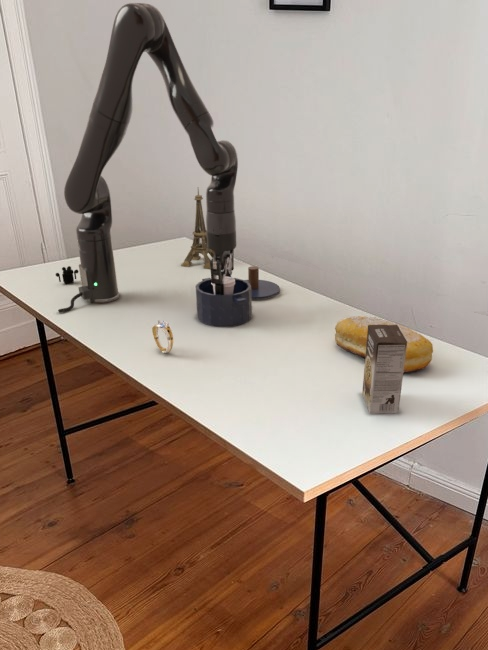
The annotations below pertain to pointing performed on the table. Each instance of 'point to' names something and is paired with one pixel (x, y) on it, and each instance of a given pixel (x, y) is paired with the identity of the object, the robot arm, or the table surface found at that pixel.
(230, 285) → the smoothie
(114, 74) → the robot arm
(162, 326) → the ring
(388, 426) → the table surface
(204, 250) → the eiffel tower
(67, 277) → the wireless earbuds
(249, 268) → the lid
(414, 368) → the bread
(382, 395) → the coffee box
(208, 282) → the pot
